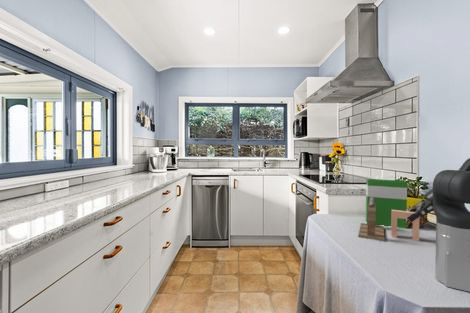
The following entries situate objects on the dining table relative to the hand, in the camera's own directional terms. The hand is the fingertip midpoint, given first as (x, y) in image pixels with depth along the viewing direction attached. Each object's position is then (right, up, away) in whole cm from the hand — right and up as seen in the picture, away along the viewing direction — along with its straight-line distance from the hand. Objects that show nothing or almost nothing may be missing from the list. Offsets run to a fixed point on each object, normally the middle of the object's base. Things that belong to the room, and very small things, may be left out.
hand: (407, 218), depth 105 cm
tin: (+21, -10, +23) cm, 32 cm away
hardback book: (+3, -9, +21) cm, 24 cm away
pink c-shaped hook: (-1, -9, +1) cm, 9 cm away
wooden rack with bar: (-12, -9, +7) cm, 17 cm away
